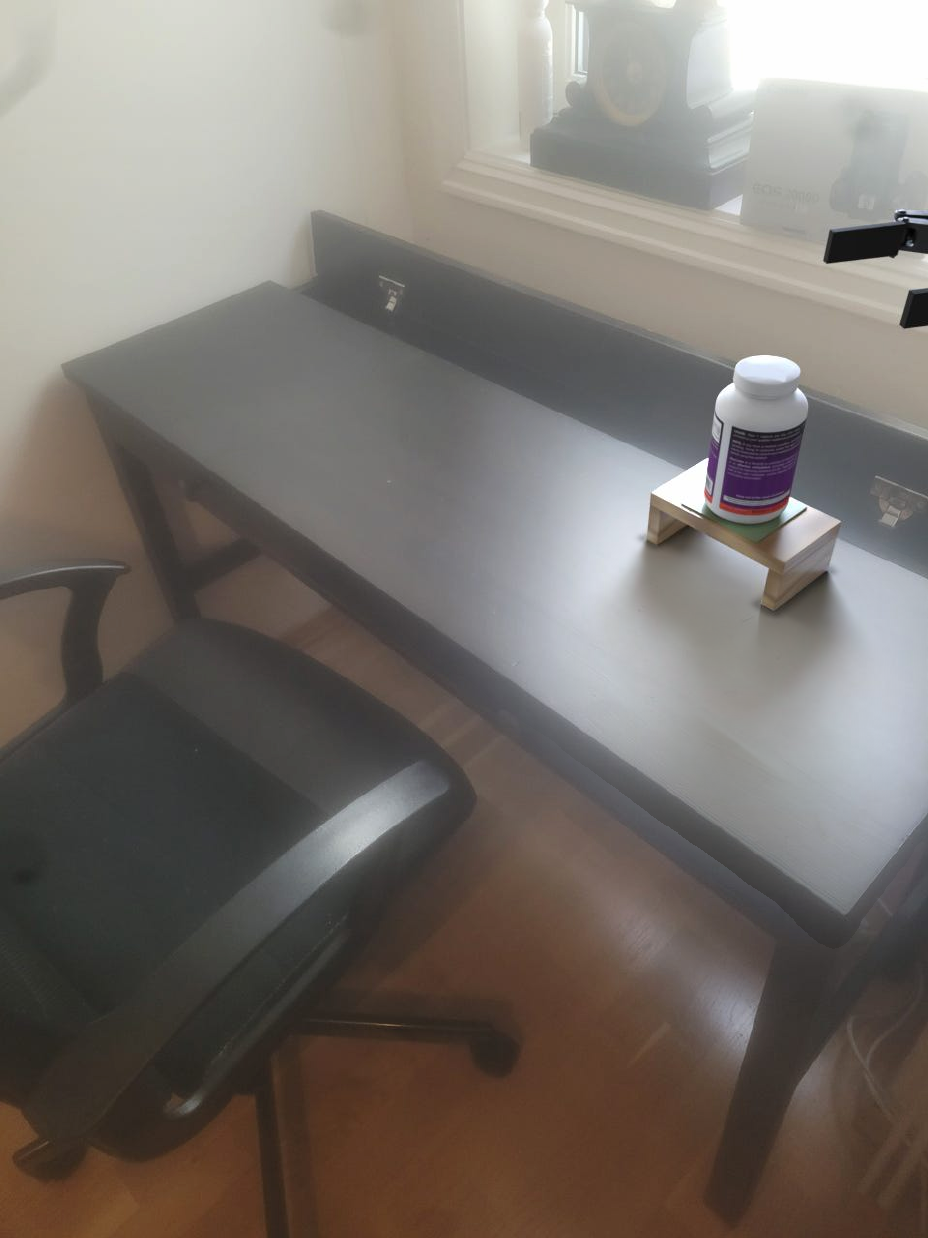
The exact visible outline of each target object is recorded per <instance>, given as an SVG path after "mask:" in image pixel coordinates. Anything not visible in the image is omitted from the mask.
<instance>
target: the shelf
mask: <svg viewBox="0 0 928 1238" xmlns="http://www.w3.org/2000/svg"><path fill="white" fill-rule="evenodd" d="M707 464H708V457H707V458H705V459H703V460H702V461H700V462H698V463H697V464H695V465H694V466H692V467H690V468H689V469H687V470H686V471H685V470H684V471H683V472H682V473H680V474H678V475H677V476H675V477H674V478H672V479H671V480H670V481H667V482H665V483H664V484H662V485H661V486H659V487H658V488H656V489H654V490H653V491H651V492H650V498H649V509H648V520H647V530H646V540H648V541H649V542H651V543H653V544H655V545H659V544H660V543H662V542H664V541H665V540H667V539H668V538H670V537H671V536H673V535H674V534H677V532H679V531H680V530H682V529H684V528H685V527H687V526H689V527H691V528H693V529H695V530H696V531H698V532H700V533H703V534H704V535H706V536H708V537H710V538H711V539H713V540H715V541H717V542H719V543H721V544H723V545H725V546H727V547H728V548H730V549H732V550H734V551H735V552H738V553H739V554H741V555H743V556H745V557H747V558H749V559H750V560H753V561H754V562H756V563H758V564H760V565H762V566H764V567H765V568H768V571H767V575H766V579H765V584H764V589H763V593H762V597H761V601H760V605H761V606H763V607H766V608H767V609H769V610H770V611H772V612H775V611H776V610H778V609H779V608H780V607H781V606H782V605H784V604H785V603H787V602H788V601H790V599H792V598H793V597H795V596H796V595H797V594H798V593H799V592H801V591H802V590H803V589H805V588H806V587H807V586H808V585H810V584H812V582H814V581H815V580H816V579H818V578H819V577H820V576H822V575H823V574H824V573H826V572H827V571H828V570H829V568H830V564H831V561H832V556H833V555H834V554H833V553H834V550H835V546H836V543H837V539H838V536H839V533H840V529H841V525H842V520H840V519H838V518H835V517H833V516H831V515H829V514H827V513H825V512H822V511H821V510H819V509H816V508H814V507H812V506H810V505H808V504H806V503H803V502H801V501H800V500H797V499H796V498H793V497H791V496H790V498H789V502H788V505H787V507H786V509H785V510H784V511H783V512H782V513H781V514H780V515H779V516H777V517H776V518H774V519H772V520H769V521H766V522H762V523H757V524H744V523H737V522H733V521H729V520H727V519H724V518H722V517H720V516H718V515H717V514H715V513H714V512H713V511H712V510H711V509H710V508H709V507H708V506H707V504H706V502H705V500H704V485H705V479H706V472H707Z"/></svg>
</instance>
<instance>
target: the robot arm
mask: <svg viewBox="0 0 928 1238" xmlns="http://www.w3.org/2000/svg"><path fill="white" fill-rule="evenodd" d="M827 235H828V236H827V240H826V245H825V249H824V255H823V260H822V262H824V263H825V264H826V265H828V264H839V263H847V262H848V263H849V262H855V261H863V260H871V259H880V258H888V257H889V258H891V259H895V258H896V257H897V256H899V251H902V252H910V253H915V254H924V255H928V210H913V209H897V210H895V211H894V215H893V218H892V221H891V222H881V223H874V224H873V223H872V224H865V225H857V226H855V225H854V226H848V227H840V228H839V227H838V228H830V229H829V230H828V234H827ZM898 326H900V327H901V328H902V329H903V330H906V329H914V328H921V327H928V287H925V288H915V289H908V293H907V296H906V300H905V302H904V306H903V310H902V313H901V317H900V321H899V324H898Z"/></svg>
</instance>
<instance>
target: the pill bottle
mask: <svg viewBox="0 0 928 1238" xmlns="http://www.w3.org/2000/svg"><path fill="white" fill-rule="evenodd" d="M801 374H802V373H801V368H800V366H799V365H798V364H797V363H796V362H794V361H792V360H790V359H788V358H785V357H782V356H777V355H767V354H766V355H764V354H763V355H761V354H760V355H754V356H749V357H745V358H743V359H741V360H740V361H738V362H737V364H736V365H735V368H734V370H733V377H732V383H730V384H728V385H727V386H726V387H724V388H723V389H722V390H721V391H720V392H719V394H718V396H717V398H716V401H715V407H714V414H713V421H712V427H711V436H710V442H709V449H708V450H709V451H708V457H707V458H708V464H707V472H706V479H705V485H704V500H705V502H706V504H707V506H708V507H709V508H710V509H711V510H712V511H713V512H714V513H715V514H717V515H718V516H720V517H722V518H724V519H727V520H729V521H733V522H737V523H744V524H757V523H762V522H766V521H769V520H772V519H774V518H776V517H777V516H779V515H780V514H781V513H782V512H783V511H784V510H785V509H786V507H787V505H788V502H789V498H790V497H791V494H792V488H793V483H794V480H795V479H794V478H795V474H796V469H797V464H798V461H799V457H800V456H799V455H800V451H801V446H802V441H803V437H804V432H805V427H806V424H807V418H808V413H809V402H808V399H807V397H806V396H805V394H804V393H803V391H802V390H800V388H798V387H799V384H800V379H801V378H800V377H801Z"/></svg>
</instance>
